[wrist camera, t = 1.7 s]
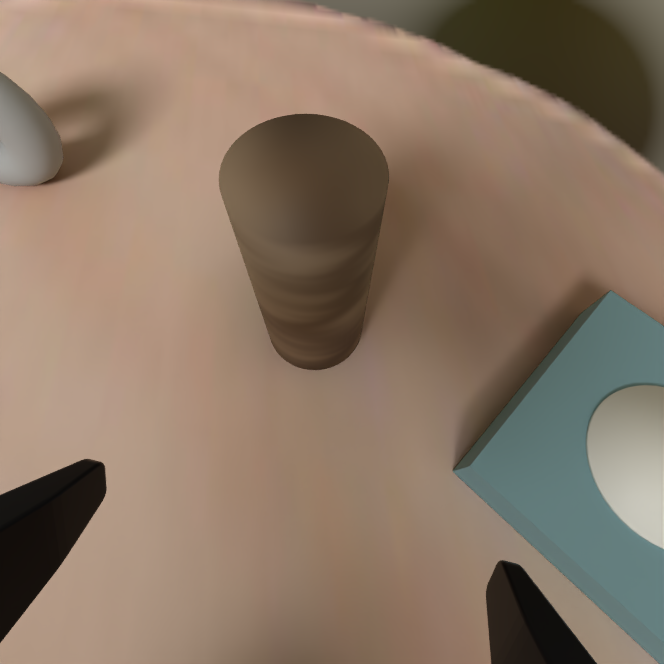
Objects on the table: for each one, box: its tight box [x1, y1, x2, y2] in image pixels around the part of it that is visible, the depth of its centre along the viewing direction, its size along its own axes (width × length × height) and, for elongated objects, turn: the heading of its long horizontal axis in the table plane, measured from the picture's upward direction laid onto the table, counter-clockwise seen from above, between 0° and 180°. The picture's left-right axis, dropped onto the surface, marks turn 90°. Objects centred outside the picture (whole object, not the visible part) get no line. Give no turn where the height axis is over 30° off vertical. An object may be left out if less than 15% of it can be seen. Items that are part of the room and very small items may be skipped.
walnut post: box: [219, 114, 389, 370], centre depth 20 cm, size 6×6×13 cm
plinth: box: [453, 290, 664, 664], centre depth 21 cm, size 14×14×3 cm
